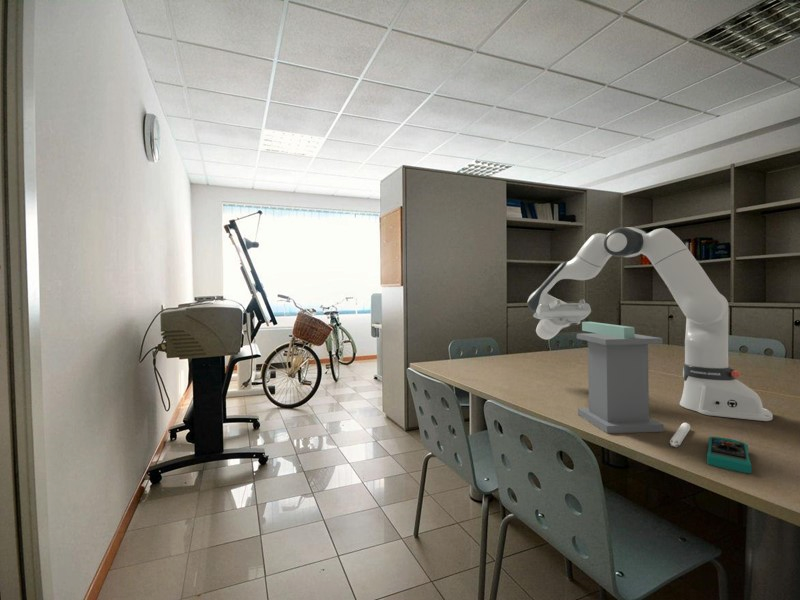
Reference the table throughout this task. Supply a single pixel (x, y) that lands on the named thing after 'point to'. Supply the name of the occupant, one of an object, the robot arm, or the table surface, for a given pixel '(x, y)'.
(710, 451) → the digital multimeter
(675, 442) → the white rod
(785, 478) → the table surface
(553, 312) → the robot arm
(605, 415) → the stand
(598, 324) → the bar
